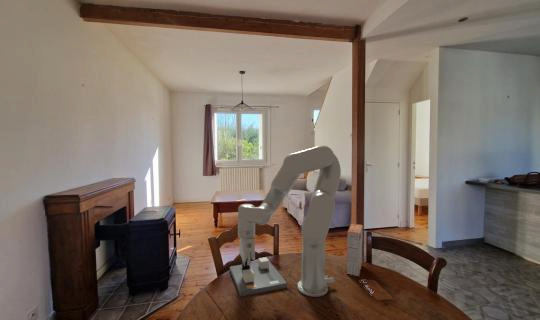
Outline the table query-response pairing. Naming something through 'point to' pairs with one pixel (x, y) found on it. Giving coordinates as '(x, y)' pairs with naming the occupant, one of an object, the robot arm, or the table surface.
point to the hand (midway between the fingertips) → (245, 273)
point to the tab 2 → (263, 263)
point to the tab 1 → (248, 275)
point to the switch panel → (258, 279)
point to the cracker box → (354, 249)
